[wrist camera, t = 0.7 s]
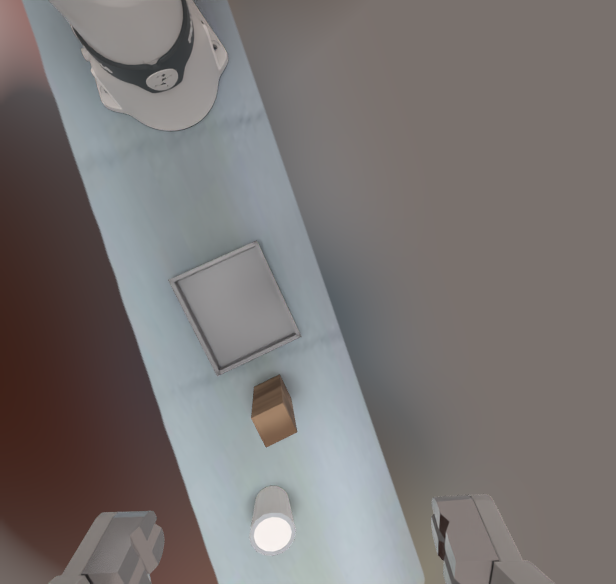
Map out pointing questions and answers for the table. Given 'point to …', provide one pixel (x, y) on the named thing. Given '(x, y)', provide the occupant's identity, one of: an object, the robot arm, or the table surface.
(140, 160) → the table surface
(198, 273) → the charcoal tray
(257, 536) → the white cup
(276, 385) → the walnut block
